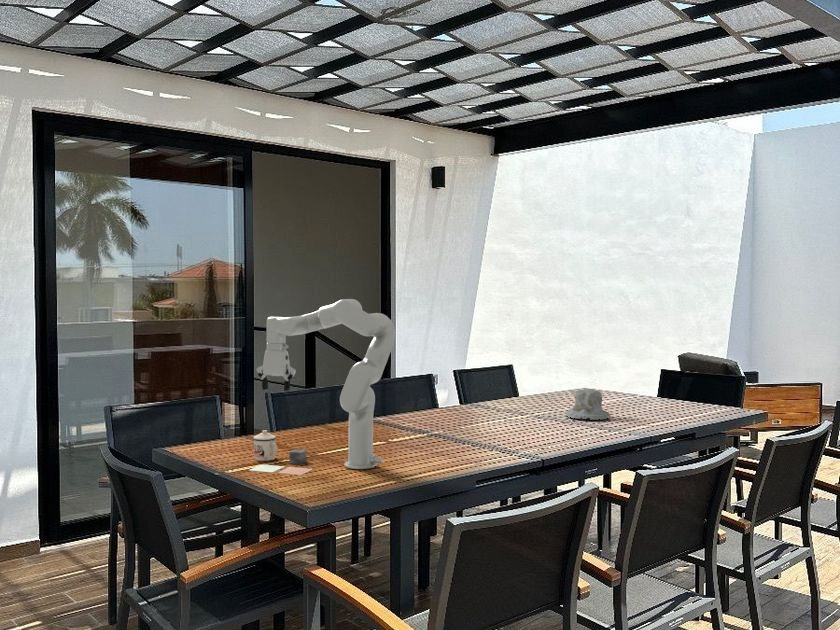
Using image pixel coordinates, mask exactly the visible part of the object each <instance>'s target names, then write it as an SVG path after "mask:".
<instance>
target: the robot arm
mask: <svg viewBox="0 0 840 630" xmlns="http://www.w3.org/2000/svg"><path fill="white" fill-rule="evenodd" d="M392 321H393V320H391V319H390V318H389V317H388V315H386V314H384V313H380V312H375V313H374V312H373V313H368V312H366V311H364V310H363V306H362V305H361V302H359V301H358V300H357V299H353V298H346V299H345V298H344V299H340V300H338V301H336V302H334V303H332V304H328V305H327V304H326V305H324V306H323V305H322V306H321V307H319V309H318V310H316V311H314V312H311V313H306V314H302V315H297V316H296V315H295V316H286V317H284V316H269V317H267V318H266V350H264V351H265V352H264V357H263V363H262V365H260V366H258V367H257V368H256V369H255V371H256V372H257V375H258V377H259V378H260V380H261V387H262V390H263V391H265V390H268V389H269V379H268V377H269V376H272V377H282V378H283V379H284V381H283V382H284V383H283V391H284V392H288V391H290V388H291V381H292V379H293V378H294V376H295V374H296V372H297V370H296V369H295V368H294V367H292V366H290V363H291V362H290V356H289V352H288V350H287V349H289V344H287V343H286V342H287V341H286V339H287V338H286V336H287V337H293V336H299V335H305V334H309V333H312V332H317V331H319V330H323V329H325V330H326V329H328V328H332V327H335V326H338V325H344V326H345V327H346V328H349V329H350V330H352V331H354V332H356V333H357V334H359V335H361V336H363V337H373V338H372V339H371V342H370V344H369V345H368V348H367V350H366V354H365V355H364V358H363V359H362V360H361V361H358V362H356V363H355V364H354V365H352V367H351V368H350V370H349V372H348V375H347V377H346V379H345V382H344V385H343V387H342V390H341V393H340V395H339V404H340V406H341V408H342V410H344V411H345V412H347V413H348V429H347V431H348V445H347V446H348V453H347V455H348V459H347V460H346V461H345V462H344V467H346V468H347V469H352V470H353V469H354V470H368V469H373V468H375V466H376V467H377V465H378V464H383V458H382V457H377V456H376V453H374V446H373V445H374V411H375V405H376V395H375V392H374V389H373V388H372V387H371V385H375V384H376V383H378V382H379V381H380V380H381V378H382V376H383V373H384V370H385V367H386V365H387V363H388V360H389V357H390V354H391V351H392V349H393V346H394V344H395V340H396V328H395V325H394V324H393V322H392Z"/></svg>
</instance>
